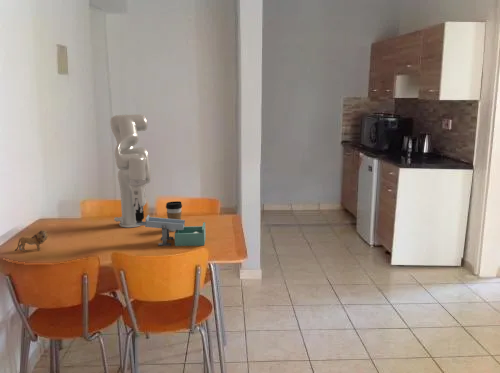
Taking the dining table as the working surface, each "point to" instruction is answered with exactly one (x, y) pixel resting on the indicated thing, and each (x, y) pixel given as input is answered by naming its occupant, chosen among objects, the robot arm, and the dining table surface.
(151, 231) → the dining table surface
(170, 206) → the coffee cup
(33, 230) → the dining table surface
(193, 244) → the bin
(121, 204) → the robot arm
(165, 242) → the chute stand
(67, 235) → the dining table surface
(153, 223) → the chute
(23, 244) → the lion figurine
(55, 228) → the dining table surface
